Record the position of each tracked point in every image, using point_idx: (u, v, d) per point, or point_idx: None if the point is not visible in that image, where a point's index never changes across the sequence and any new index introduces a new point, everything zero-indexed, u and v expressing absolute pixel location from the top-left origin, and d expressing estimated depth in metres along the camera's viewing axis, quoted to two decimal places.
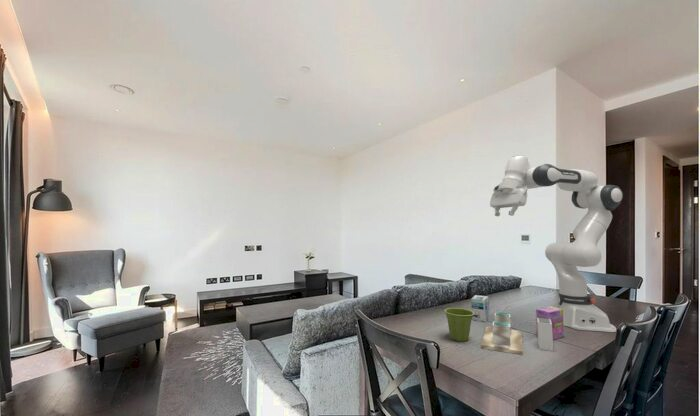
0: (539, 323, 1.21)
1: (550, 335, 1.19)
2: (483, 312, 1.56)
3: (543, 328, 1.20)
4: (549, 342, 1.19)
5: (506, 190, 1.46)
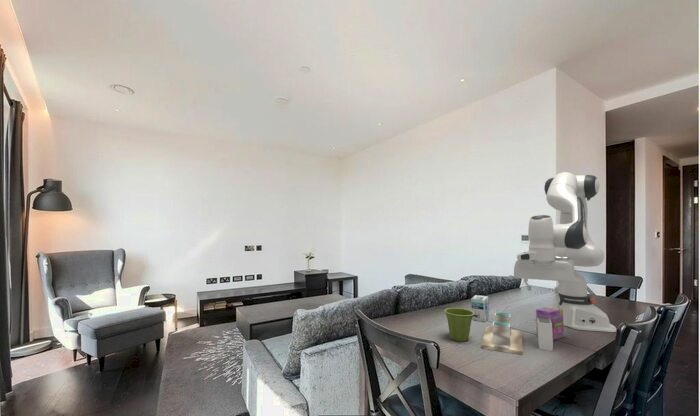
0: (539, 323, 1.21)
1: (550, 335, 1.19)
2: (483, 312, 1.56)
3: (543, 328, 1.20)
4: (549, 342, 1.19)
5: (546, 263, 1.22)
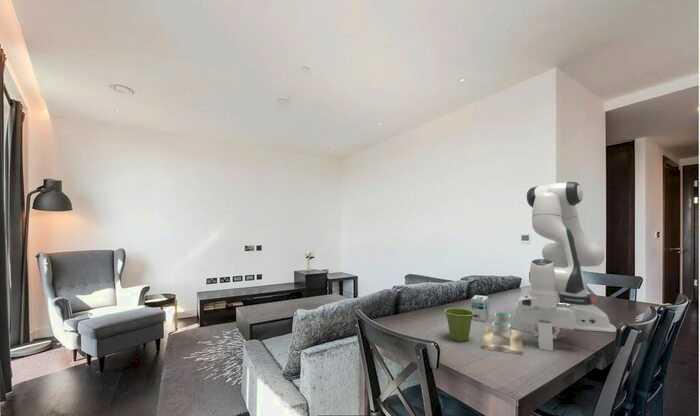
0: (539, 323, 1.21)
1: (550, 335, 1.19)
2: (483, 312, 1.56)
3: (543, 328, 1.20)
4: (549, 342, 1.19)
5: (548, 309, 1.21)
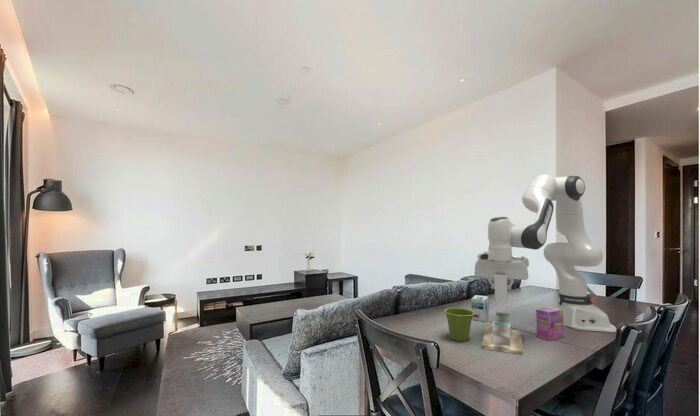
0: (495, 275, 1.29)
1: (505, 285, 1.27)
2: (483, 312, 1.56)
3: (499, 280, 1.28)
4: (504, 292, 1.27)
5: (503, 262, 1.29)
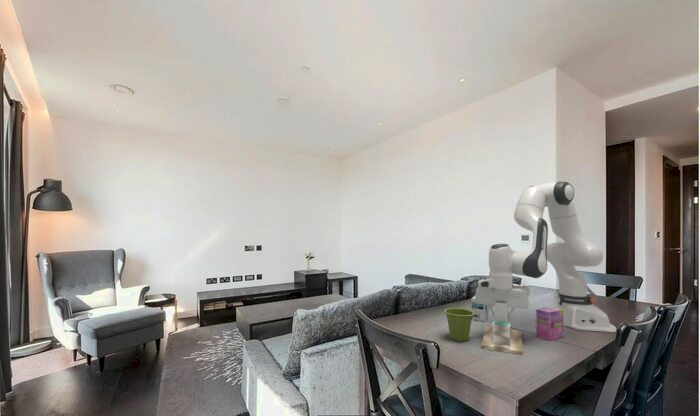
0: (495, 303, 1.28)
1: (505, 314, 1.26)
2: (483, 312, 1.56)
3: (499, 308, 1.28)
4: (504, 320, 1.26)
5: (503, 290, 1.28)
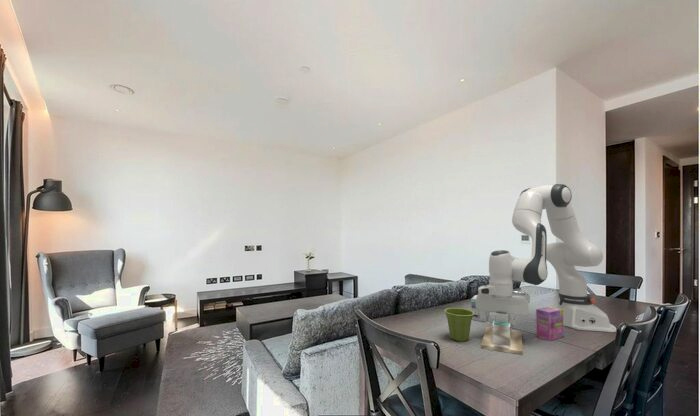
0: (496, 314, 1.28)
1: None
2: (483, 312, 1.56)
3: (500, 319, 1.27)
4: None
5: (504, 297, 1.28)
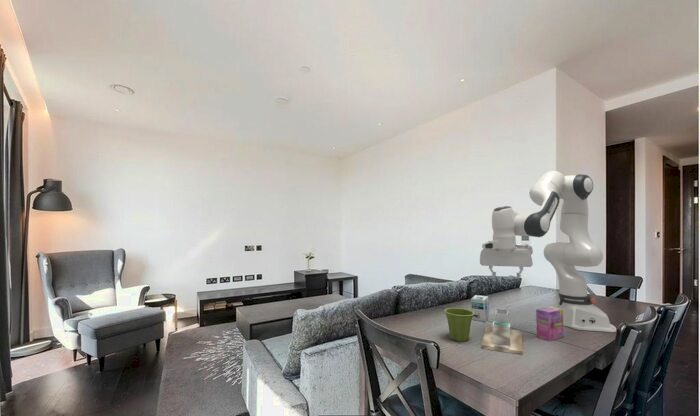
0: (496, 314, 1.28)
1: None
2: (483, 312, 1.56)
3: (500, 319, 1.27)
4: None
5: (507, 250, 1.32)
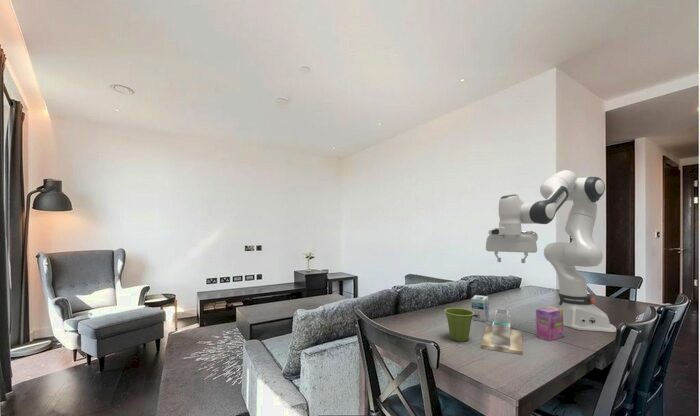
0: (496, 314, 1.28)
1: None
2: (483, 312, 1.56)
3: (500, 319, 1.27)
4: None
5: (513, 236, 1.36)
